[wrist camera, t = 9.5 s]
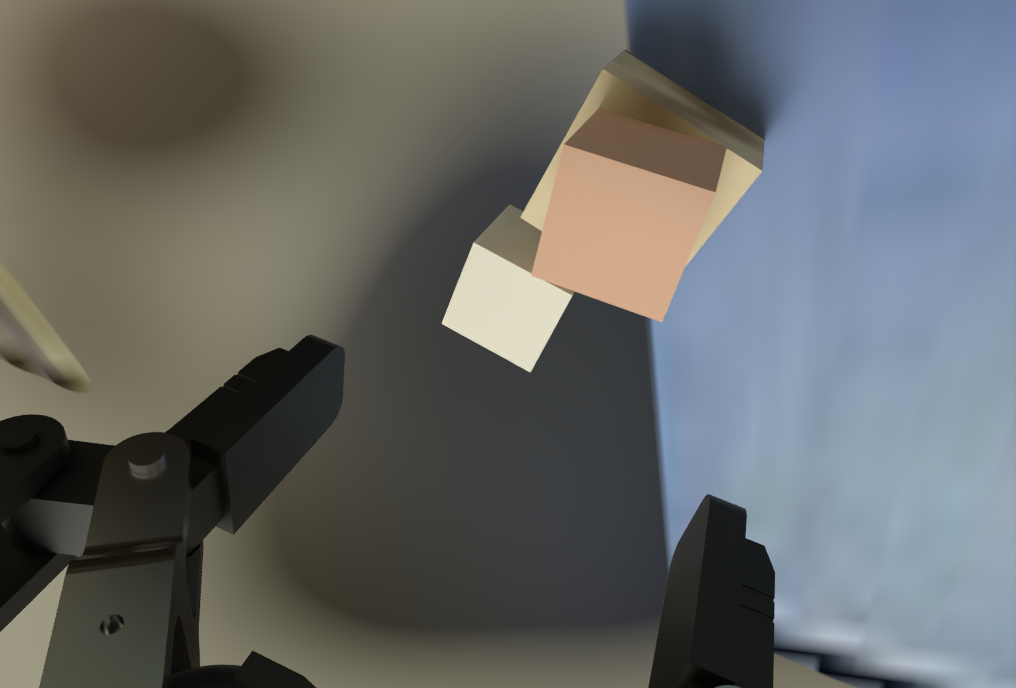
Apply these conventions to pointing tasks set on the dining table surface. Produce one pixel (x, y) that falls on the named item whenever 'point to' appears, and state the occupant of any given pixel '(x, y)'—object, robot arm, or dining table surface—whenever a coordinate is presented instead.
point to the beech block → (671, 107)
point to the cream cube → (506, 293)
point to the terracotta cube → (627, 211)
